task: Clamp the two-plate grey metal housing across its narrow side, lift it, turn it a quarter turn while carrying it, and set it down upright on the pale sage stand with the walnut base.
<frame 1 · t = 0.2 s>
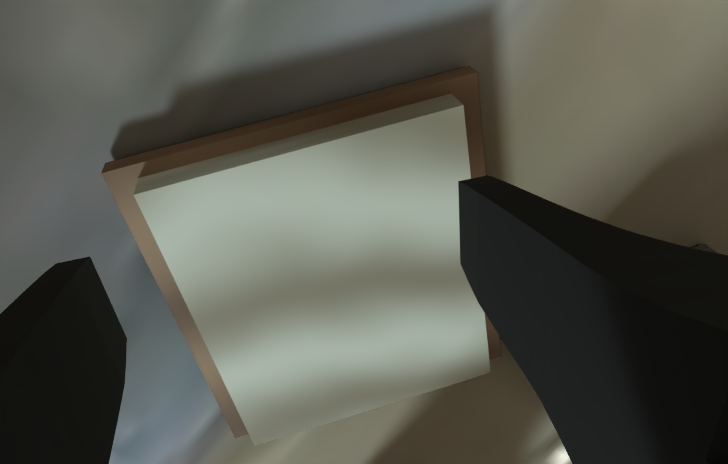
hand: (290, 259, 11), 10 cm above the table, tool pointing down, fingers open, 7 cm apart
stand: (335, 270, 24), on the table
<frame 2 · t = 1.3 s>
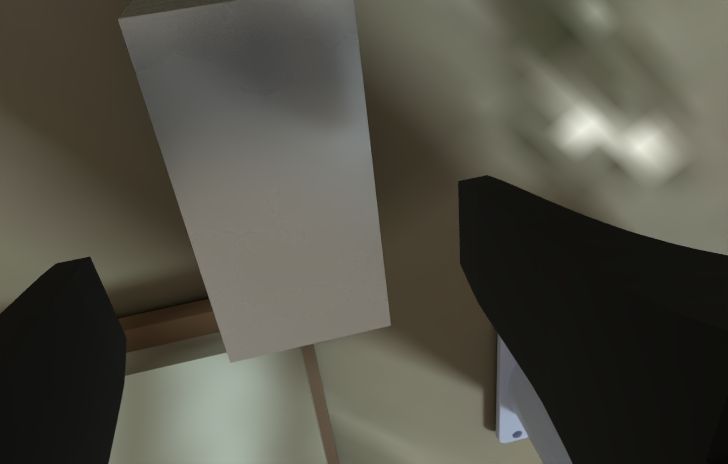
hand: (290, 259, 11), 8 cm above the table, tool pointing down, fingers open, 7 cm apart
housing: (264, 115, 19), on the table
stand: (162, 435, 25), on the table
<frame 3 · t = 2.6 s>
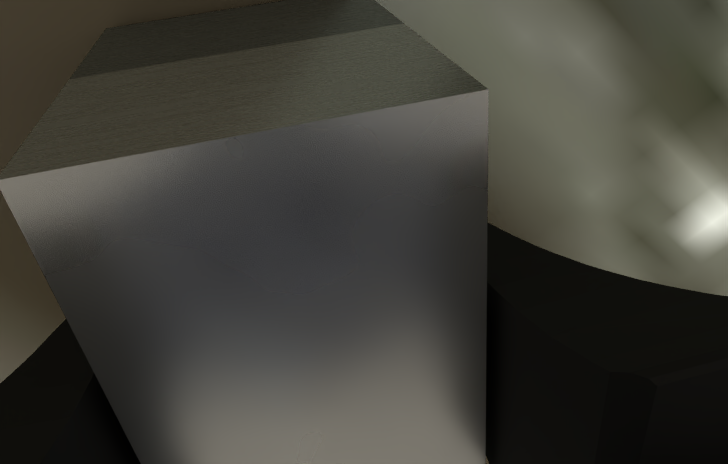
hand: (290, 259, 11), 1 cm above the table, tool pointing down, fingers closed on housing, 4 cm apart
housing: (282, 222, 13), on the table, touching gripper
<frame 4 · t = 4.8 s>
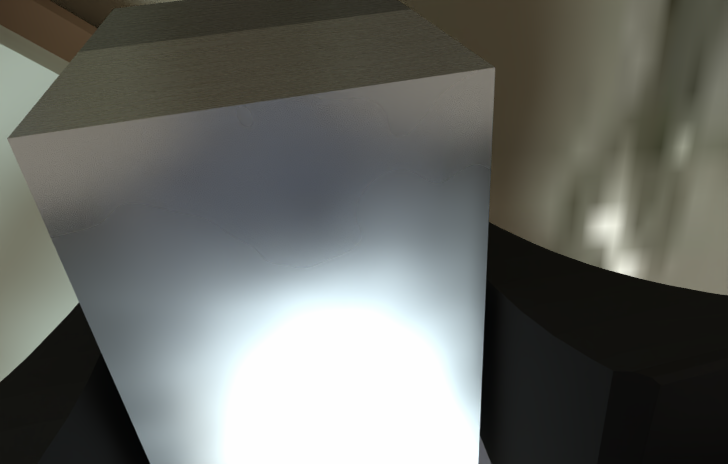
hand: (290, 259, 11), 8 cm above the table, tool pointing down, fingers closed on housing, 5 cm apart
housing: (282, 209, 13), point 7 cm above the table, touching gripper
stand: (54, 226, 19), on the table
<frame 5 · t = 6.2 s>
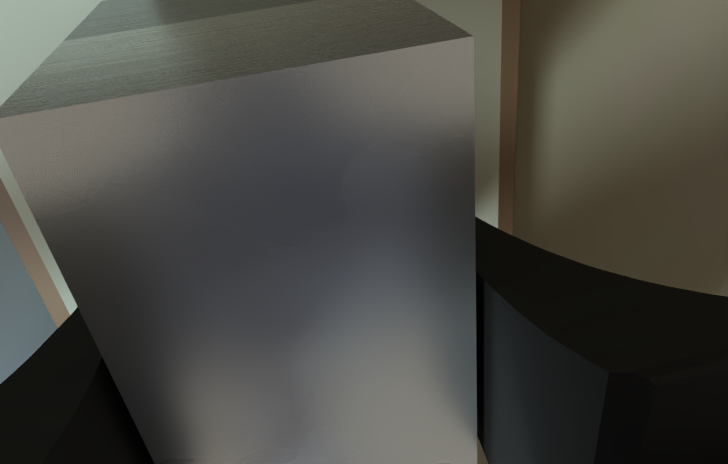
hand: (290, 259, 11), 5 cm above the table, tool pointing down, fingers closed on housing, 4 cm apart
housing: (278, 199, 13), point 3 cm above the table, touching gripper
stand: (272, 163, 15), on the table
when the fingers open (5 cm above the table, at t = 7.0 s): housing stays where it is, resting on stand.
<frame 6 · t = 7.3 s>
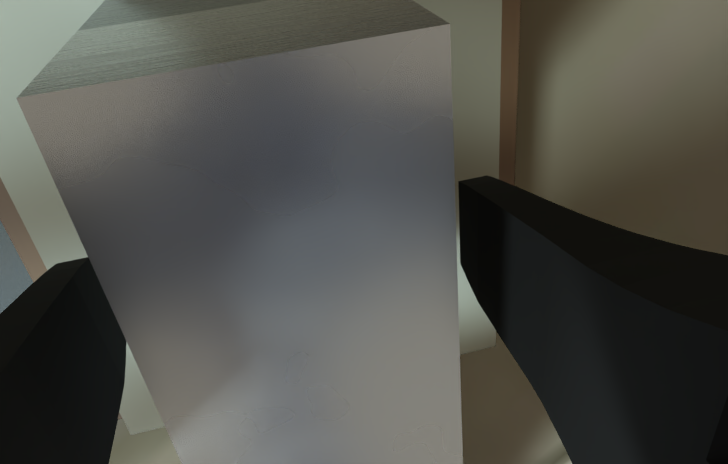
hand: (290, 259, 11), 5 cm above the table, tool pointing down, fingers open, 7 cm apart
housing: (276, 184, 13), point 2 cm above the table, touching stand
stand: (272, 163, 15), on the table
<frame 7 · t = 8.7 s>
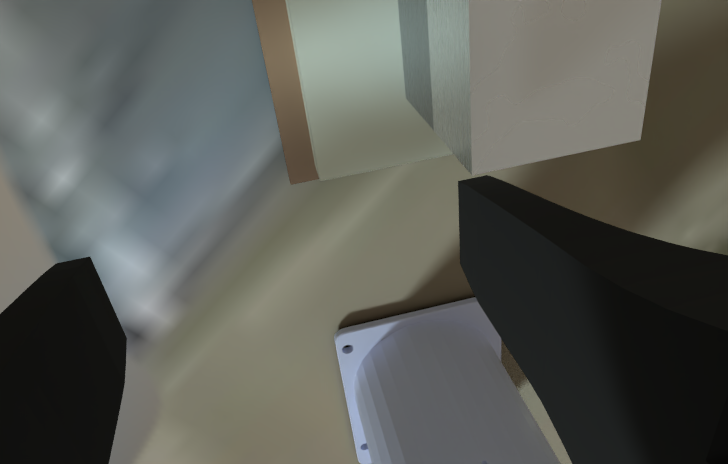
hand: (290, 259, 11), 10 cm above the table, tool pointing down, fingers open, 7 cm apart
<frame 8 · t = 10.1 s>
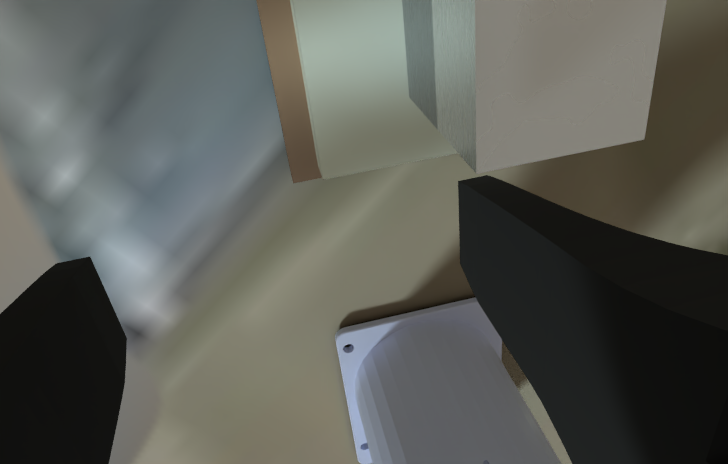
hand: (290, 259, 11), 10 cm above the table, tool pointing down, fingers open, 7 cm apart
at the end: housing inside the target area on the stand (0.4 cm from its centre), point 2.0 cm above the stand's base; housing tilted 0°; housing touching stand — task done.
